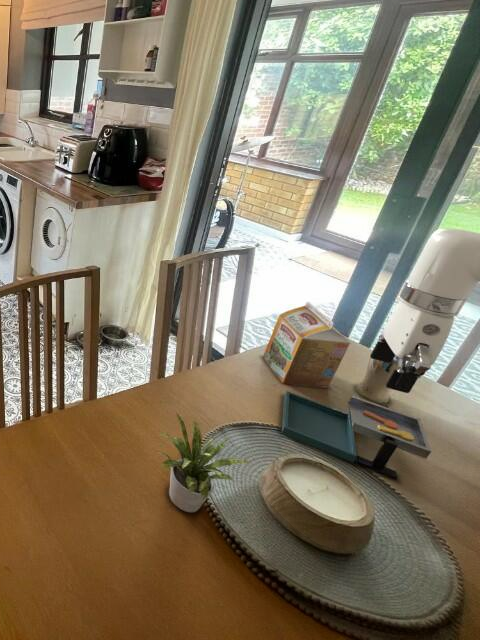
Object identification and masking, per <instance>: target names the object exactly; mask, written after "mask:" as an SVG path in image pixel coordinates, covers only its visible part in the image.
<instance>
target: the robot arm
mask: <svg viewBox="0 0 480 640" xmlns="http://www.w3.org/2000/svg"><path fill="white" fill-rule="evenodd" d="M478 282H480V232H476V231H471V230H464V229H461V228H460V229H458V228H442V229H437V230H436V231H434V232H433V233H432V234H431V235H430V237H429V238H428V240H427V242H426V244H425V245H424V247H423V250H422V251H421V253H420V254H419V257H418V258H417V261H416V263H415V264H414V266H413V268H412V270H411V272H410V274H409V276H408V278H407V280H406V281H405V284H404V285H403V287H402V289H401V291H400V292H399V294H398V297H397V299H398V300H399V301H398V302H397V303H396V305H395V306H394V308H393V310H392V311H391V313H390V315H389V316H387V318H386V322H385V324H384V326H383V327H382V333H381V334H380V335H379V336H378V340H377V342H376V344H375V346H374V347H373V349H372V351H371V352H370V355H369V356H370V357H371V358H372V359H375V360H379V361H383V362H387V363H391V362H392V360H393V359H394V357H395V355H396V356H397V357H398V358H399V362H398V370H397V369H394V370H393V372H392V374H391V376H390V377H389V379H388V381H387V383H386V387H387V388H390V389H393V390H392V391H397V392H402V393H404V394H409V393H410V392H411V391H412V389H413V387H414V386H415V384H416V382H417V381H418V379H421V378H422V376H424V375H425V374H426V372H428V371H429V370H430V369H431V368H432V366H433V365H434V364H435V363H436V361H437V360H438V357H439V356H440V354H441V352H442V350H443V348H444V346H445V344H446V342H447V341H448V338H449V335H450V333H451V331H452V328H453V325H454V321H455V317H457V316H458V315H459V314H460V312H461V311H462V309H463V307H464V305H465V304H466V302H467V301H468V299H469V297H470V295H471V294H472V292H473V291H474V290H475V287H476V286H477V284H478ZM380 341H381V342H380ZM406 355H412V356H416V358H411V357H407V356H406ZM370 357H369V358H370ZM406 361H409V362H413V363H414V364H413V366H407V367H405V366H406Z"/></svg>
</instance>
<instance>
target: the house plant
mask: <svg viewBox="0 0 480 640" xmlns="http://www.w3.org/2000/svg"><path fill="white" fill-rule="evenodd" d="M171 409H172V411H173V413H174V415H175V416H176V418H177V420H178V421H179V424H180V427H181V432H182V436H183V439H182V438H180V437H172V436H171V435H170V434H167V433H164V432H161V433H156V434H157V435H159V436H162V437H165V438H167V439H170V440H171V442H172V444H173V445H174V446H175V448H176V449H177V450H178V452H179V454H180V457H181V459H178V460H175V459H172V458H171V457H170V456H169V455H168V454H167V453H165V452H162V451H159V450H157V451H156V450H155V452H156V453H158V454H160V455H162V456H164V457H166V458H167V459H165V461H163V463H162V464H161V465H160V467H159V468H162V467H163V468H170V479H169V490H168V494H169V498H170V500H171V502H172V503H173V504H174V505H175V507H177V508H178V509H180V510H181V511H184V512H186V513H196V512H198V511H199V510H200V508H201V507H202V506H203V505H204V503H205V502H206V501H207V499H208V498H209V497H210V495H212V493H213V491H214V490H215V481H214V480H215V479H216V480H228V481H231V482H235V481H234V479H233V477H232V476H231V475H229V474H226V473H224V472H223V471H222V470H220V469H218V468H219V467H226V466H232V465H235V464H251V462H250V461H248V460H245V459H242V458H237V457H231V458H230V457H229V458H220V459H217V460H215V461H214V462H211V463H209V462H210V461H212V459H213V458H214V457H215V456H216V455H218V454H219V453H220V452H221V451H222V450H223V448H224V447H225V444H226V443H227V440H228V438H225V439H224V440H223V441H222V442H221V443H219V444H218V445H217V446H215V445H212V444H211V445H208V444H209V443H210V442H212V441H214V440H215V439H216V437H213V438H211V439H209V440H208V441H207V442H206V443H205V444H204V446H203V447H202V444H203V438H202V432H201V428H200V427H199V424H198V423H197V422H196V421H193V435H192V441H191V444H190V441H189V436H188V431H187V428H186V425H185V422H184V420H183V419H182V417H181V416H180V415H179V413H177V411H176V410H175V409H173V408H171ZM203 450H204V451H203ZM202 451H203V453H202ZM208 463H209V464H208ZM211 473H214V474H211Z"/></svg>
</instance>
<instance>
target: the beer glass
mask: <svg viewBox="0 0 480 640" xmlns="http://www.w3.org/2000/svg"><path fill="white" fill-rule="evenodd" d="M380 342H381V341H380ZM406 356H407V357H411V358H416V356H412V355H406ZM398 362H399V358H398V357H397V356H396V355H395V357H394V359H393V360H392V362H391V363H387V362H383V361H379V360H375V359H372V358H371V357H369V360H368V364H367V367H366V372H365V375H364V377H363V379H362V380H361V381H360V383H358V384H357V386H356V391H357V392H358V394H359V395H361V396H362V397H364V398H366V399H368V401H371V402H374V403H378V402H379V403H382V404H386V403H388V402H390V398H391V394H392V391H394V390H393V389H390V388H387V387H386V383H387V381H388V379H389V377H390V376H391V374H392V372H393V370H394V369H397V370H398ZM414 364H415V363H413V362H409V361H406V366H405V367H407V366H414Z"/></svg>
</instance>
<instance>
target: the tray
mask: <svg viewBox="0 0 480 640" xmlns="http://www.w3.org/2000/svg"><path fill="white" fill-rule="evenodd" d="M282 407H283V409H282V423H281V435H282V434H283V435H285V436H287V437H290V438H292V439H295V440H297V441H299V442H302V443H303V444H306V445H309V446H312V447H314V448H316V449H318V450H321V451H324V452H326V453H329V454H331V455H333V456H336V457H338V458H340V459H343V460H345V461H348V462H350V463H352V464H353V463H355V462H356V457H357V456H358V455H357V447H356V440H355V431H352V428H351V420H350V412H346V411H343V410H340V409H338V408H335V407H332V406H330V405H326V404H324V403H321V402H318V401H316V400H313V399H310V398H308V397H305V396H302V395H299V394H296V393H294V392H291V391H288V390H286V392H285V394H284V396H283V405H282Z"/></svg>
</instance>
